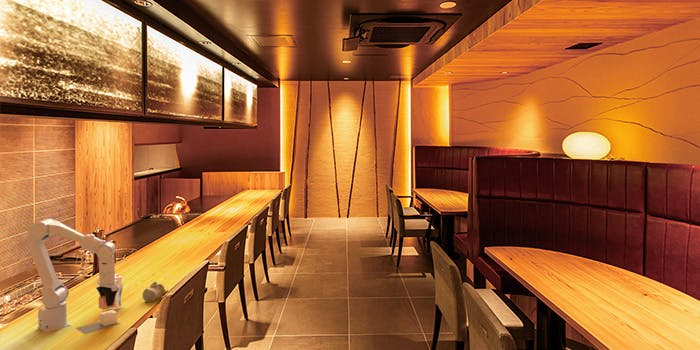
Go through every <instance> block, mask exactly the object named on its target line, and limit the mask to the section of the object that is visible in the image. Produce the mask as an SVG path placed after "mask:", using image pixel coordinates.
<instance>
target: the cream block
mask: <svg viewBox="0 0 700 350" xmlns="http://www.w3.org/2000/svg"><path fill="white" fill-rule="evenodd" d="M99 322H100V324H102V325H103V326H107V325H110V324H114V323H117V322H118V313H117V311H116V310H106V311H103V312H100V313H99Z"/></svg>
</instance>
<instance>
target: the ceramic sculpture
mask: <svg viewBox="0 0 700 350" xmlns="http://www.w3.org/2000/svg"><path fill="white" fill-rule="evenodd" d="M168 291H169V290H167V289H166V290H165V286H164V285H163V284H161V283H157V281H155V282H154V281H153V283H151V284H150V286H149V287H148V288H145V289H143V292H142V299H143V300H144V301H145V302H147V303H153V302H155V301H156V300H158V299H161V298H162V297H163V296H164V295H165V294H166V293H167V292H168ZM163 298H164V297H163Z"/></svg>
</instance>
